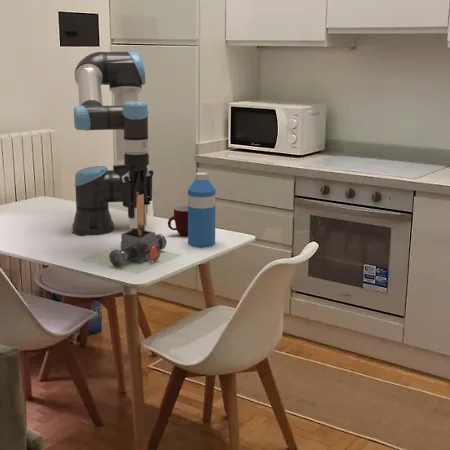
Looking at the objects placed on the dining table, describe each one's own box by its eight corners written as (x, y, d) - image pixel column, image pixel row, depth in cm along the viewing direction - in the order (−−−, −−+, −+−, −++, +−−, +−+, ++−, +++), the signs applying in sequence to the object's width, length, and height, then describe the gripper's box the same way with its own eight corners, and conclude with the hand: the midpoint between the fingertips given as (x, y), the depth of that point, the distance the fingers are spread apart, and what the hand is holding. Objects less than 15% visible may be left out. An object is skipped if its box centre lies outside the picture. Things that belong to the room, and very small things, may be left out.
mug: (174, 240, 242) (174, 213, 239) (164, 235, 248) (163, 208, 246) (200, 236, 247) (200, 209, 244) (189, 231, 254) (189, 204, 251)
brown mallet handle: (129, 234, 218) (128, 194, 214) (137, 231, 221) (136, 192, 218) (139, 236, 216) (138, 195, 212) (147, 233, 219) (146, 193, 215)
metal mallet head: (106, 265, 214) (105, 239, 212) (151, 248, 232) (150, 223, 229) (132, 271, 208) (132, 245, 206) (176, 253, 226) (176, 228, 224)
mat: (80, 260, 220) (80, 259, 220) (126, 243, 237) (126, 242, 237) (138, 274, 207) (138, 273, 207) (182, 256, 225) (182, 254, 225)
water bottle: (187, 241, 241) (187, 171, 235) (214, 240, 242) (214, 170, 236) (188, 249, 232) (188, 176, 226) (216, 248, 233) (216, 176, 227)
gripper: (127, 157, 203) (129, 233, 209) (163, 150, 216) (164, 222, 223) (108, 155, 207) (111, 230, 213) (144, 148, 220) (146, 218, 226)
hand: (138, 225), depth 218 cm, fingers closed on brown mallet handle, 4 cm apart
